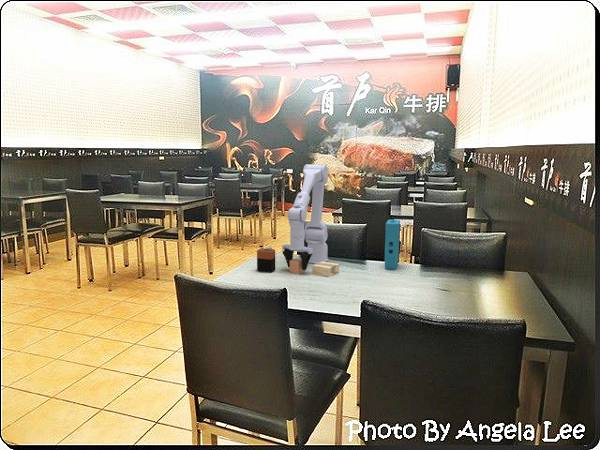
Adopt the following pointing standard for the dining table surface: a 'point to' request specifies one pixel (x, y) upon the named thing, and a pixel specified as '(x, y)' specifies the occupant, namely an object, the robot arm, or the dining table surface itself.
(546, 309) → the dining table surface
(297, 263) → the terracotta block
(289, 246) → the robot arm
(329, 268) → the maple block
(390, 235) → the block
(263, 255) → the battery
